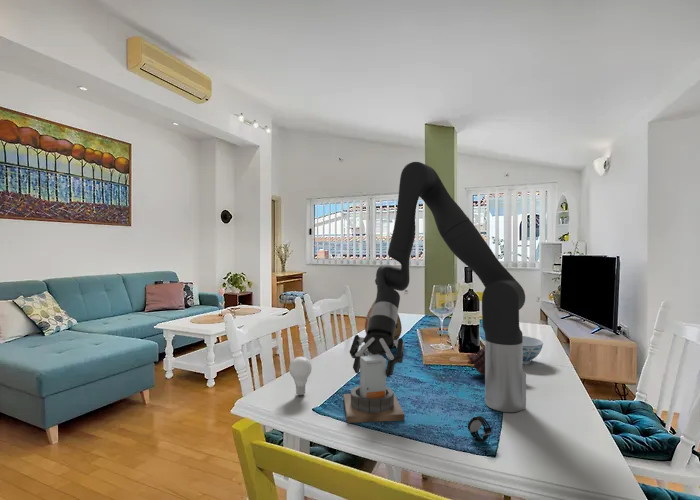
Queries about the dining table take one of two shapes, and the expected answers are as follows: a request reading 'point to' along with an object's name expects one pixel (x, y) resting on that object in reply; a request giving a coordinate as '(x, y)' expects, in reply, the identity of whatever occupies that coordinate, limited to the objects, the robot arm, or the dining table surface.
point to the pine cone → (478, 361)
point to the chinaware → (531, 348)
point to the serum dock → (372, 407)
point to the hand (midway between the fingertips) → (371, 373)
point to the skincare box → (372, 376)
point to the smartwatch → (476, 425)
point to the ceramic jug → (398, 325)
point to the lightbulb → (300, 373)
